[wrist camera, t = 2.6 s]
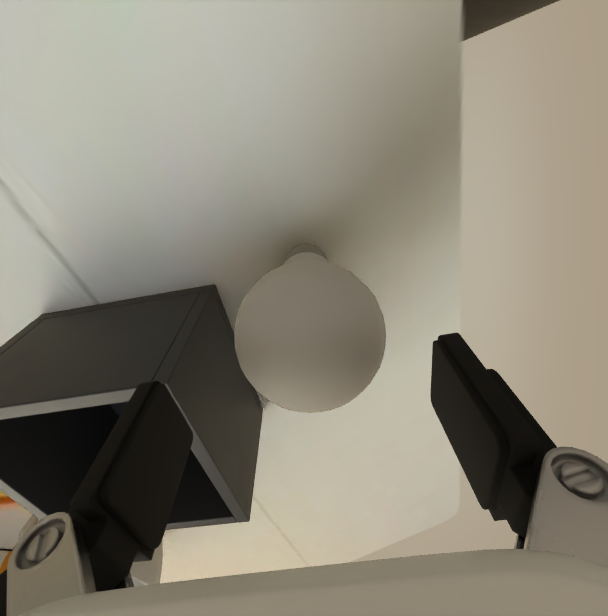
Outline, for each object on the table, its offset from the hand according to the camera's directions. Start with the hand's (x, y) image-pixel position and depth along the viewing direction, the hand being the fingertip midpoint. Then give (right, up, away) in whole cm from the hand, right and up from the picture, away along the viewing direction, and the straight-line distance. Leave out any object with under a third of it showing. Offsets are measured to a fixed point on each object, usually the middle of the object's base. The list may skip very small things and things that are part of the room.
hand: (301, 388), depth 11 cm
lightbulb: (0, +6, +9) cm, 11 cm away
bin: (-11, -2, +13) cm, 17 cm away
